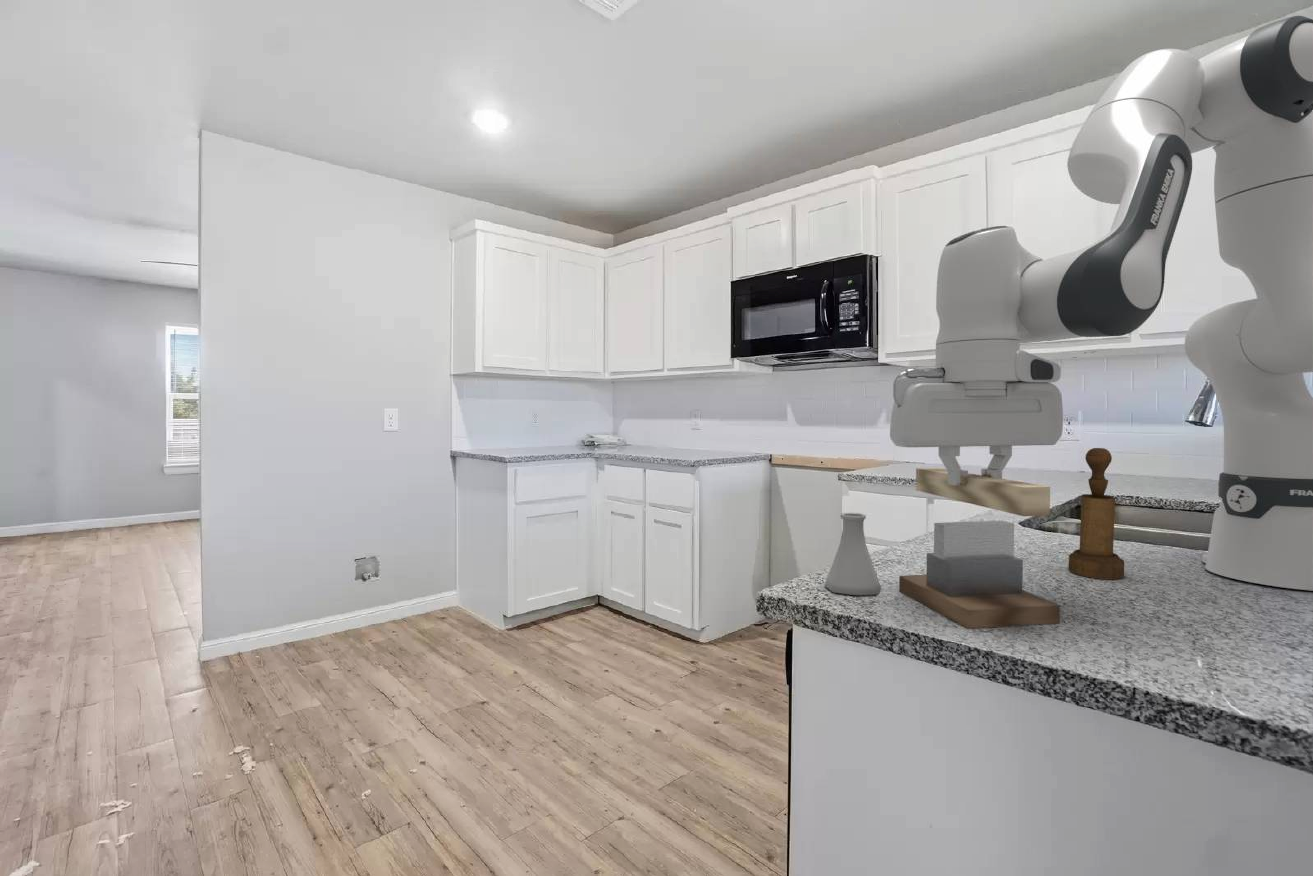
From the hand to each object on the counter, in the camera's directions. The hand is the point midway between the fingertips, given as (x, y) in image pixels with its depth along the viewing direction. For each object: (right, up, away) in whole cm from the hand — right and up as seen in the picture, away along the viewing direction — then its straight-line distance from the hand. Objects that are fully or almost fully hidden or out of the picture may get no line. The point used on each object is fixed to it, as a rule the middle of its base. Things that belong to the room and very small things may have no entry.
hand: (974, 484), depth 73 cm
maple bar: (0, -2, 0) cm, 2 cm away
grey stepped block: (0, -13, 0) cm, 13 cm away
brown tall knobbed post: (+25, -14, +15) cm, 32 cm away
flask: (-12, -15, +8) cm, 21 cm away
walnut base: (0, -15, +1) cm, 15 cm away
